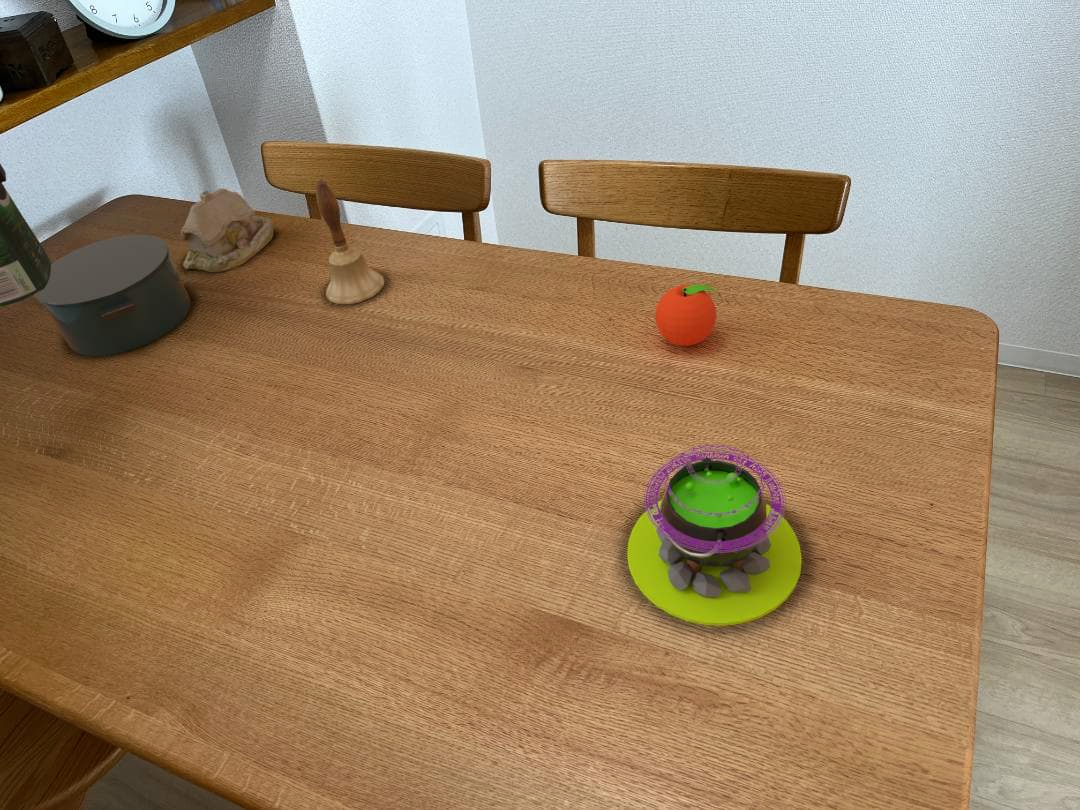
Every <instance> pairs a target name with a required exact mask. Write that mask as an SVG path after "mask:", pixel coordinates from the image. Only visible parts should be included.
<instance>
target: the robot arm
mask: <svg viewBox="0 0 1080 810" xmlns="http://www.w3.org/2000/svg"><path fill="white" fill-rule="evenodd" d="M3 167H4V166H2V164H1V163H0V183H1V182H2V183H4V182H7V173H6V170H5V169H4V168H3Z"/></svg>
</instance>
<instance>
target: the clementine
mask: <svg viewBox="0 0 1080 810" xmlns="http://www.w3.org/2000/svg"><path fill="white" fill-rule="evenodd" d="M707 291H715V292H717V294H718V295H719V297H720V298H721V299H722V296H721V293H720V292H719V291H718V290H716V289H715V288H714V287H712V286H710V285H705V284H693V285H692V284H681V285H677V286H675V287H673V288H671V289H669V290H667V291H666V292H665V293H664V294H663V295H662V296H661V297H660V298H659V301H658V304H657V305H656V307H655V314H654V318H655V324H656V327H657V329H658V331H659V333H660V334H661V336H662V337H663V338H664V339H666V341H668V342H670V343H671V344H674V345H677V346H683V347H685V346H693V345H696V344H700V343H701V342H703V341H704V340H705V339H707V338H708V337H709V335H710V334H711V333H712V332H713V329H714V327H715V326H716V322H717V309H716V304H715V302H714V300H713V298H712V297H711V295H709V294H708V293H707Z"/></svg>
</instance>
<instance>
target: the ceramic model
mask: <svg viewBox="0 0 1080 810" xmlns="http://www.w3.org/2000/svg"><path fill="white" fill-rule="evenodd" d="M199 197H200V200H198V201H196V202H195V203H194V204H193V205H191V207H190V208H189V209H190V210H189V213H188V215H187V217H186V220H185V222H184V225H183V226H182V228H181V231H180V239H181V240H182V241H187V243H188V244H189V247H190V248H191V249H190V250H189V251H188V252H187V254H186V257H185V260H184V261H183V262H182V263H183V268H184V269H186V270H199V271H205V272H209V273H220V272H224V271H228V270H232V269H234V268H237V267H239V266H241V265H244V264H245V263H246V262H247V261H249V260H250V259H251V258H253V257H254V256H255V255H256V254H257V253H259V252H260V251H261V250H262V249H263V248H264V247H266V246H267V245H268V244H269V243H270V242H271V241H272V239H273V237H274V224H273V223H272V220H271V219H270V218H268V217H263V216H255V215H256V213H255V211H254V209H253V208H252V207H251V206H250V204H249V203H248V201H247V200H246V199H245V198H244V196H242V195H241V194H239V193H238V192H236V191H231V190H228V189H227V188H218V189H217V190H215V191H213V192H212V193H211V192H210V191H209V190H204V191H203V192H202V193H200V194H199Z"/></svg>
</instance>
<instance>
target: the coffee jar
mask: <svg viewBox="0 0 1080 810" xmlns="http://www.w3.org/2000/svg"><path fill="white" fill-rule="evenodd" d="M51 265H52V263H51V259H50V256H49V255H48V253H47V252H46V250H45V249H44V247H43V246H42V244H41V242H40V240H39V239H38V237H37V236H36V234H35V233H34V231H33V230H32V228H31V226H30V225H29V224H28V222H27V220H26V219H25V217H24V216H23V214H22V213H21V211H20V210H19V208H18V206H17V204H16V203H15V201H14V200H13V198H12V196H11V195H10V194H9V191H8V190H7V189H6V187H5V185H4V183H3V182H1V183H0V308H3V307H9V306H12V305H15V304H18V303H22V302H24V301H25V300H27V299H28V298H30V297H32V296H34V294H36V293H38V292H40V291H42V290H43V289H44V288H45V287H46V285H47V283H48V281H49V278H50V273H51Z"/></svg>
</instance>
